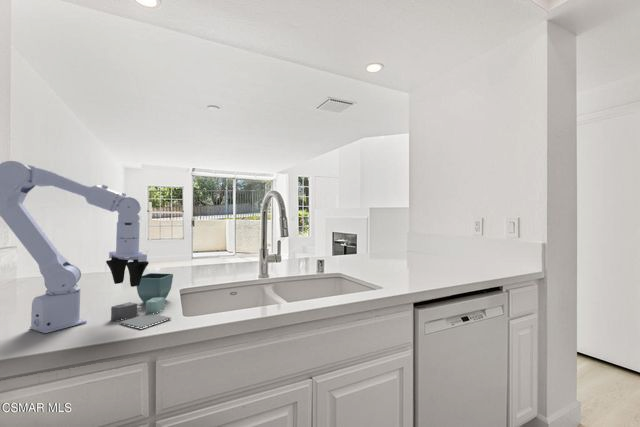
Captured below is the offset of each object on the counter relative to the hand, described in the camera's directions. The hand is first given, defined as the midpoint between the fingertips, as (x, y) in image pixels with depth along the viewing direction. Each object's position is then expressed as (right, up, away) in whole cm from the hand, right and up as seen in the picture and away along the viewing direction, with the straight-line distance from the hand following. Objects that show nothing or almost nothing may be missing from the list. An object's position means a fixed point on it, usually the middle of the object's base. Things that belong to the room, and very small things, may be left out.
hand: (126, 284), depth 90 cm
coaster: (+8, -10, -4) cm, 13 cm away
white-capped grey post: (0, -9, 0) cm, 9 cm away
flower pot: (-1, -10, +17) cm, 19 cm away
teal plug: (+5, -10, +6) cm, 13 cm away
